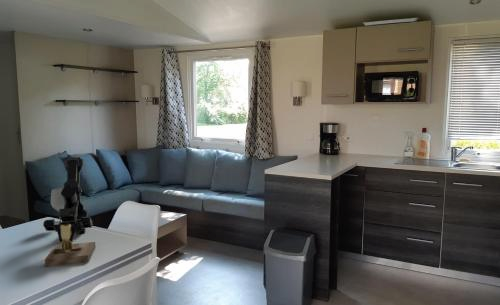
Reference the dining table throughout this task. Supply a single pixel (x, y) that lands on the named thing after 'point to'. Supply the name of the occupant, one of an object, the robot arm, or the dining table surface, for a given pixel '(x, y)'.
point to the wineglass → (57, 199)
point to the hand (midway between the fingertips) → (65, 241)
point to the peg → (66, 237)
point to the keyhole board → (70, 254)
